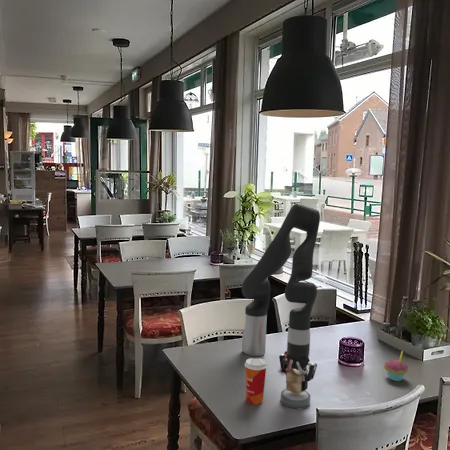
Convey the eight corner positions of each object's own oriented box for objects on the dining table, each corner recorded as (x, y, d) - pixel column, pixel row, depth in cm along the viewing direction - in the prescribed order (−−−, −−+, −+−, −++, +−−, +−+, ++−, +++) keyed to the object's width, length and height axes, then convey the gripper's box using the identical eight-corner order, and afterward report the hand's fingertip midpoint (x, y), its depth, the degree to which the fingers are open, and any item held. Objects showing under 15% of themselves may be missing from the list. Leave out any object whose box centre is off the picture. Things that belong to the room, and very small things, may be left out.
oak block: (286, 389, 168) (286, 373, 167) (294, 385, 171) (294, 368, 171) (298, 394, 164) (299, 377, 164) (306, 389, 168) (307, 372, 168)
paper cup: (241, 395, 172) (243, 357, 170) (263, 395, 172) (265, 357, 171) (244, 406, 164) (246, 366, 162) (267, 406, 165) (269, 366, 163)
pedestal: (274, 401, 168) (275, 394, 168) (290, 392, 176) (291, 384, 175) (300, 411, 162) (300, 404, 161) (315, 401, 169) (315, 393, 169)
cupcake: (406, 376, 192) (408, 346, 191) (407, 385, 184) (409, 354, 183) (383, 372, 195) (385, 343, 194) (383, 381, 187) (385, 350, 186)
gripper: (323, 342, 164) (320, 391, 166) (286, 332, 173) (284, 378, 175) (311, 348, 158) (309, 398, 160) (274, 337, 168) (272, 385, 170)
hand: (296, 387), depth 168 cm, fingers closed on oak block, 5 cm apart
